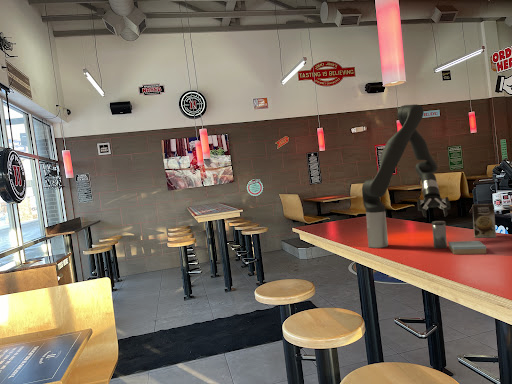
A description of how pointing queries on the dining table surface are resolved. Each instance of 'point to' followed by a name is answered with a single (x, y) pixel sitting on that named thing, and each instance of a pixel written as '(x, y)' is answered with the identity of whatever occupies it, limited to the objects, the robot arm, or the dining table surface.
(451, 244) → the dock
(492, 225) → the coffee box
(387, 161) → the robot arm
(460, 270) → the dining table surface
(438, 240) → the canister
